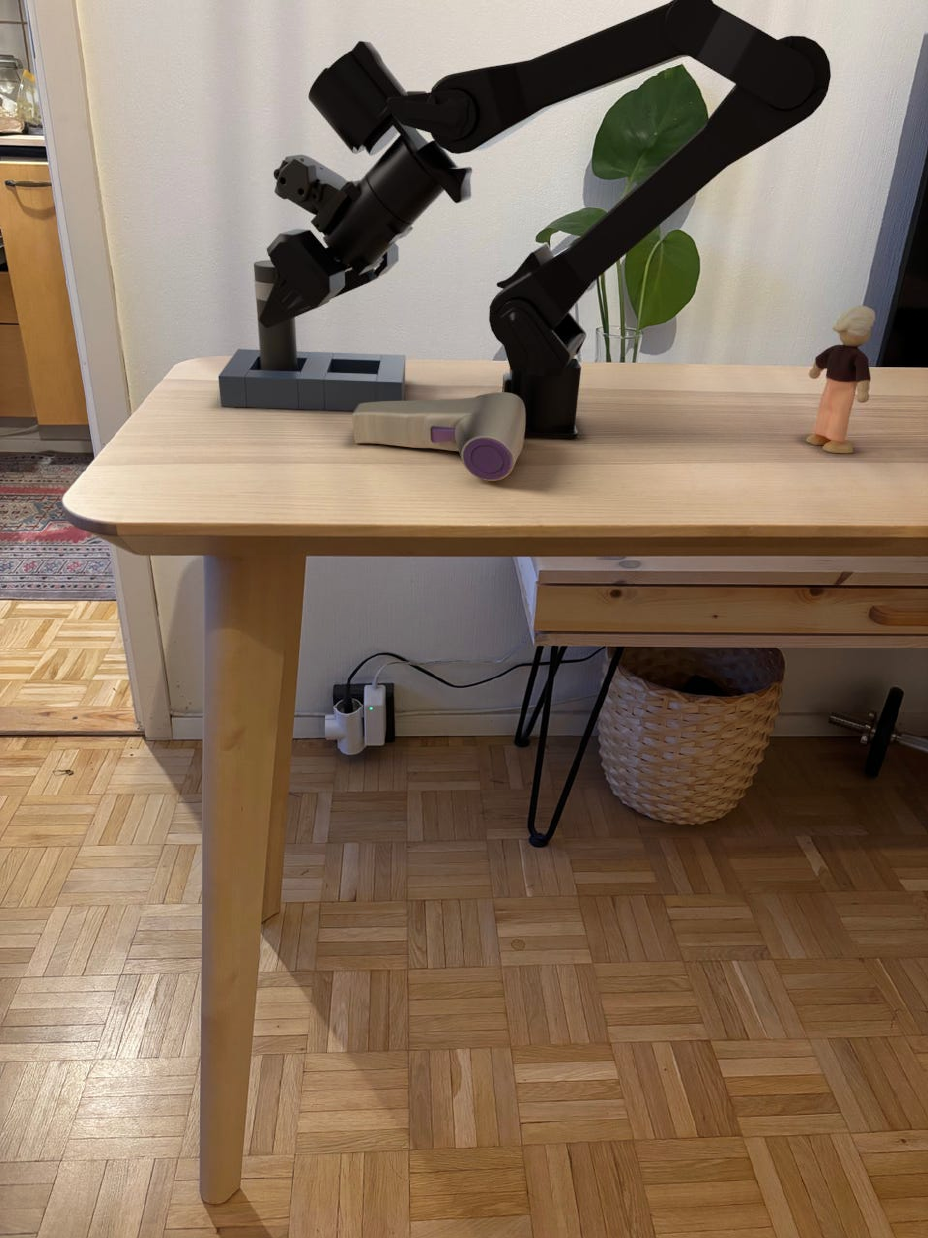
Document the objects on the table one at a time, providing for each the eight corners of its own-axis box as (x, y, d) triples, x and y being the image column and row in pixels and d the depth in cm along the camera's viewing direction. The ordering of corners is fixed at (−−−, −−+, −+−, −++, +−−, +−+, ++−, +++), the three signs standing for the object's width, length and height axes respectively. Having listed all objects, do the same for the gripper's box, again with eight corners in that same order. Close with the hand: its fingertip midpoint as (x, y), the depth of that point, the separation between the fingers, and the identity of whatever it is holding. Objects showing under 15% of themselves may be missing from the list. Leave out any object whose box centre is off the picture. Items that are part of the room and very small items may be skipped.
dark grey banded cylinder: (306, 393, 94) (300, 264, 88) (276, 400, 92) (268, 268, 85) (284, 385, 96) (277, 258, 90) (254, 392, 94) (245, 262, 87)
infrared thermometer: (364, 437, 86) (525, 439, 84) (336, 487, 76) (519, 489, 74) (360, 389, 84) (526, 389, 82) (331, 433, 73) (520, 434, 72)
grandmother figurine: (872, 453, 85) (912, 313, 79) (845, 460, 84) (883, 316, 77) (807, 428, 91) (839, 295, 85) (780, 434, 89) (810, 298, 83)
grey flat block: (405, 383, 99) (405, 354, 97) (401, 412, 90) (402, 382, 88) (240, 377, 98) (237, 348, 96) (220, 406, 89) (218, 375, 88)
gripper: (367, 118, 88) (269, 234, 96) (281, 124, 72) (173, 262, 80) (444, 214, 90) (342, 319, 98) (377, 240, 74) (262, 362, 82)
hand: (284, 314), depth 90 cm, fingers open, 9 cm apart
